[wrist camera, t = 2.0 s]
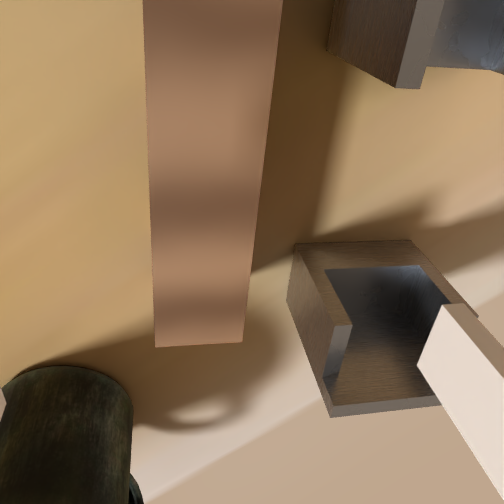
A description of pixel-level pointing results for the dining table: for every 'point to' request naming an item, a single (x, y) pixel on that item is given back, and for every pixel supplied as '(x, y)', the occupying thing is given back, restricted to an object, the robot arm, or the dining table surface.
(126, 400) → the mug
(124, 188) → the dining table surface
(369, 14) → the bracket
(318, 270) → the bracket
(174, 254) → the rail
